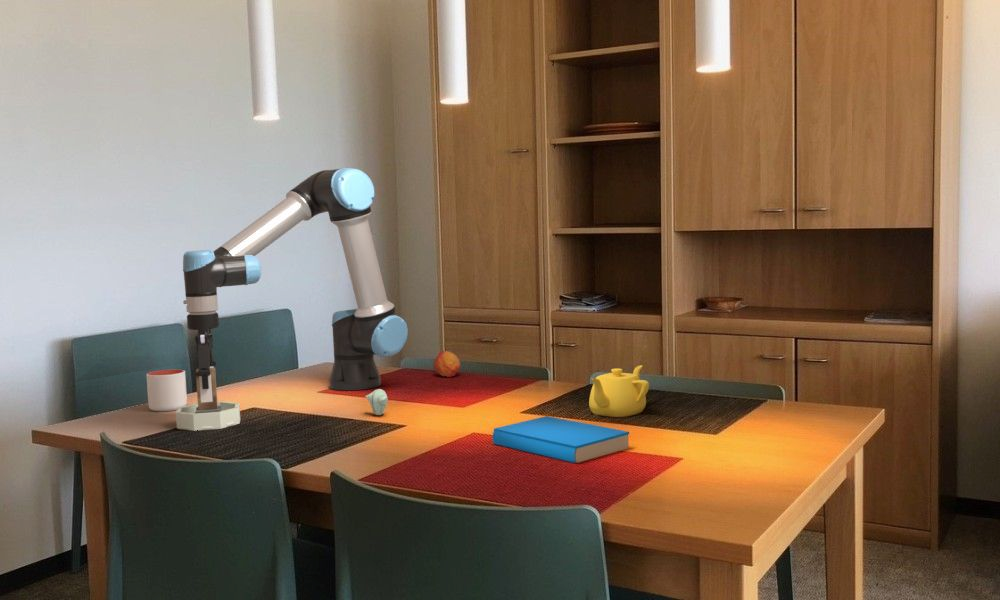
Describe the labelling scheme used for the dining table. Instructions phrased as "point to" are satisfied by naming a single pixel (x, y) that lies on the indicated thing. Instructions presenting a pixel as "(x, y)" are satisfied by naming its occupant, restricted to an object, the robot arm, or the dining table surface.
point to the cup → (166, 390)
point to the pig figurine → (378, 401)
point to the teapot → (618, 393)
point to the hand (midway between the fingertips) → (208, 396)
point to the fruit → (446, 364)
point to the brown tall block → (214, 393)
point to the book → (561, 438)
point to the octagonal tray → (208, 416)
